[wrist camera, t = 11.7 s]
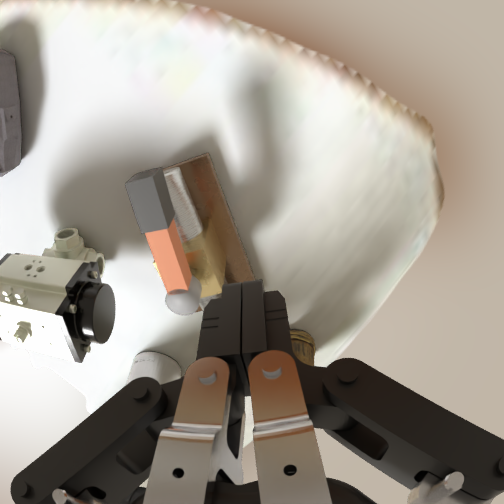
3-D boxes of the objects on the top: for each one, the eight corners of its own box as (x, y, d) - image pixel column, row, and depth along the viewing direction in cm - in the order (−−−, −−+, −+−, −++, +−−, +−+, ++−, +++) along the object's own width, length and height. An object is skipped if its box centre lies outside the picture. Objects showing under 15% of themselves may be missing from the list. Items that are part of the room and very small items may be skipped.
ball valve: (130, 227, 37) (69, 320, 22) (136, 280, 41) (94, 379, 26) (27, 221, 36) (-45, 291, 21) (39, 269, 40) (-18, 344, 25)
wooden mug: (311, 302, 44) (336, 407, 28) (315, 359, 51) (333, 449, 35) (251, 312, 45) (254, 420, 29) (266, 367, 51) (271, 458, 36)
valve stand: (259, 290, 42) (262, 341, 34) (193, 306, 44) (184, 356, 35) (208, 152, 33) (194, 176, 24) (132, 181, 34) (99, 213, 26)
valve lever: (205, 296, 30) (202, 314, 28) (176, 300, 31) (171, 318, 28) (166, 165, 24) (157, 175, 21) (132, 174, 24) (120, 185, 21)
